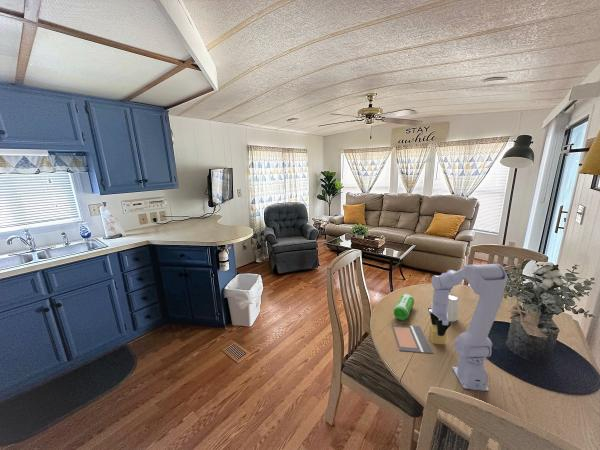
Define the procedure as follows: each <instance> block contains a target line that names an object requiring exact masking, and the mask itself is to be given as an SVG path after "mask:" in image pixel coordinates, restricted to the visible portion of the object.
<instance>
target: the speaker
mask: <svg viewBox="0 0 600 450" xmlns="http://www.w3.org/2000/svg"><path fill="white" fill-rule="evenodd" d="M414 305H415V298H414V297H413V296H412V294H409V293H404V294H402V295H401V296H400V298H399V300H398V301H397V304H396V305H395V307H394V309H393V315H394V317H395V318H396V319H398V320H400V321H404V320H407V318H409V316H410V313H411V310H412V308H413V306H414Z"/></svg>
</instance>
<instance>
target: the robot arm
mask: <svg viewBox="0 0 600 450" xmlns="http://www.w3.org/2000/svg"><path fill="white" fill-rule="evenodd" d="M463 280H466V281H467V282H468V284H469V286H470V288H471V290H472V291H473V293H474V294H475V295H478V296H479V297H478V300H477V303H476V305H475V307H474V308H475V309H474V311H473V314H472V317H471V320H470V322H469V326H468V328H467V330H465V331H464V332H462V333H460V334H459V335H458V336H457V338H455V339H454V344H453V346H454V350H455V352H456V354H457V355H458V359H457V361H458V362H457V366H452V370H453V372H454V373H455V375H456V377H457V379H458V381H459V383H460V385H461V386H462V388H463V389H466V390H474V391H476V390H477V391H485V392H489V391H490V389H489V387H488V386H487V385H488V378H489V373H488V372H487V371H486V367H485V365H484V364H485V361H487V358H489V357H491V356H492V352H493V351H492V347H493V343H492V340H491V339H490V338H489V333H490V331H491V329H492V326H493V324H494V322H495V320H496V317H497V314H498V312H499V310H500V307H501V305H502V302H503V299H504V290H505V287H506V285H507V282H508V280H509V277H508V275H507V272H506V270H505V268H504V267H503V265H501V264H499V263H497V262H496V263H488V264H487V263H486V264H467V265H464V266H463V268H461V269H459V270H453V269H447V270H446V272H442V273H441V274H440V275H435V274H434V275H433V276H432V277H431V281H430V282H431V286H432V288H433V292H432V301H431V302H430V307H428V308H427V310H428V312H429V316H430V322H431V325H437V332H438V336H444V334H445V332H446V333H447V330H448V329H449V328H450V327H451V325H452V322H450V321H448V313H447V308H448V298H449V294H451V292H452V289H453V288H454V287H456V286H458V285H460V284H462V282H463Z"/></svg>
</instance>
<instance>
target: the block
mask: <svg viewBox="0 0 600 450" xmlns="http://www.w3.org/2000/svg"><path fill="white" fill-rule="evenodd" d="M428 330H429V331H428V337H429V340H430V341H431V343H432V344H434V345H435V344H436V345H446V338H447V337H446V336H447V331H446V332H445V334H444V336H438V332H437V325H432V324H429V329H428Z"/></svg>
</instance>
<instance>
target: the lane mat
mask: <svg viewBox="0 0 600 450" xmlns="http://www.w3.org/2000/svg"><path fill="white" fill-rule="evenodd" d="M391 327H392V330H393V333H394V337H395V340H396V343H397V346H398V350H399V352H411V353H421V354H423V353H424V354H433V353H434V352H433V350H432V348H431V346H430V344H429V342H428V340H427V337H426V336H425V334H424V332H423V329H422V328H421V326H420V325H419V326H418V325H407V324H406V325H405V324H391Z"/></svg>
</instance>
